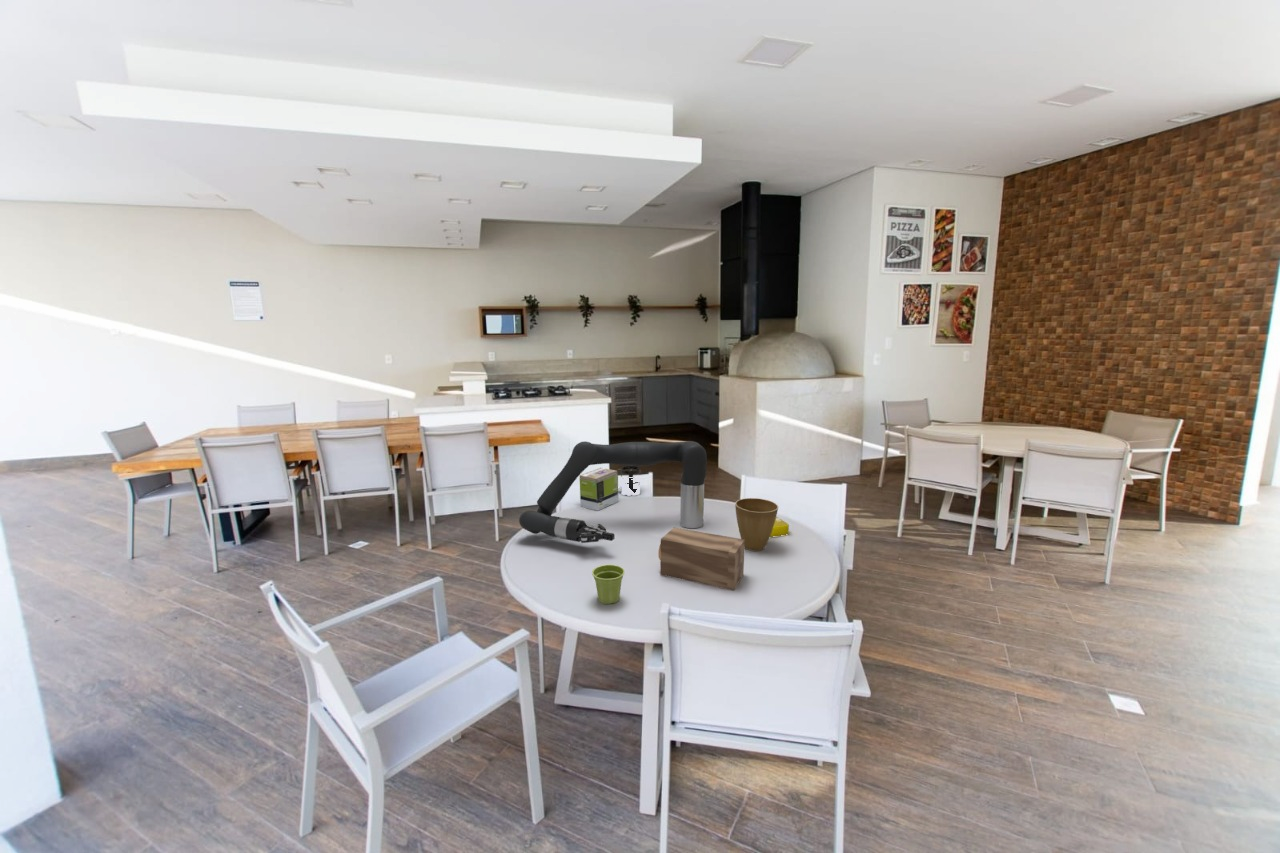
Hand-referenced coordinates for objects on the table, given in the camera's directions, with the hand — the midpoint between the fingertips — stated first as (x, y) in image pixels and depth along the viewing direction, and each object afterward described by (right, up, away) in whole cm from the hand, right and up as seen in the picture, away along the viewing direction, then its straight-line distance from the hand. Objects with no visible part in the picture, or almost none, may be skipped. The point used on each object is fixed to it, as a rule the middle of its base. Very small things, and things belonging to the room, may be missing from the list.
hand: (613, 537), depth 185 cm
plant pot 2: (+50, -6, +9) cm, 51 cm away
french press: (+4, +6, +70) cm, 70 cm away
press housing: (+29, -9, -12) cm, 33 cm away
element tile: (+57, -3, +25) cm, 62 cm away
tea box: (-9, +3, +54) cm, 55 cm away
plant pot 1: (0, -13, -27) cm, 30 cm away
